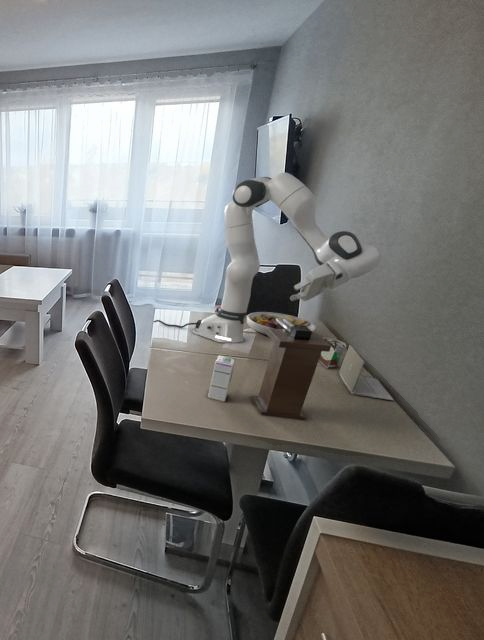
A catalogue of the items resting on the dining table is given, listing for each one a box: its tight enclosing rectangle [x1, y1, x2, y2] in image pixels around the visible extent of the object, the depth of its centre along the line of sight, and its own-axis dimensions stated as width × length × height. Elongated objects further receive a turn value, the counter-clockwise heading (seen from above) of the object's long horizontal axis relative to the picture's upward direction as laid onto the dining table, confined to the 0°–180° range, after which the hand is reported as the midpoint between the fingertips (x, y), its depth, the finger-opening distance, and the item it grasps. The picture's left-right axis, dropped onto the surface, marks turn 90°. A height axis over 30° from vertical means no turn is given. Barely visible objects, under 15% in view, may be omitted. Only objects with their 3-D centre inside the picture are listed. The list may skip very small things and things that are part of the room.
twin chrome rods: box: [276, 318, 312, 340], centre depth 135 cm, size 18×4×3 cm, turn 168°
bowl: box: [246, 311, 317, 336], centre depth 209 cm, size 30×30×8 cm
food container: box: [318, 336, 348, 370], centre depth 172 cm, size 12×6×10 cm, turn 168°
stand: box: [250, 328, 331, 421], centre depth 135 cm, size 12×14×26 cm
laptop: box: [338, 344, 394, 401], centre depth 153 cm, size 18×12×13 cm
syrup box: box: [207, 355, 236, 402], centre depth 144 cm, size 6×6×14 cm
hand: (292, 293), depth 159 cm, fingers open, 8 cm apart
